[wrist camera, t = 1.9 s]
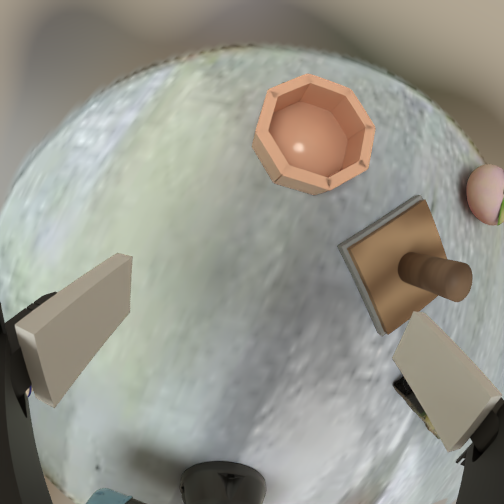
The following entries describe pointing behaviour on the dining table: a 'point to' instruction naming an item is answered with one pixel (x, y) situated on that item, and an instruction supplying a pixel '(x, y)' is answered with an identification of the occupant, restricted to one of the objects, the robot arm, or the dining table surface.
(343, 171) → the bowl
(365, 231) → the mat
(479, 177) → the decorative fruit
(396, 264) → the lid
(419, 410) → the juice carton
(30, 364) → the robot arm
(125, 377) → the dining table surface
